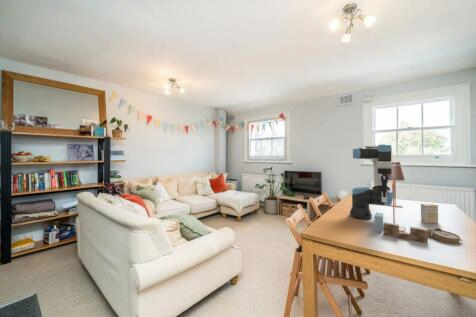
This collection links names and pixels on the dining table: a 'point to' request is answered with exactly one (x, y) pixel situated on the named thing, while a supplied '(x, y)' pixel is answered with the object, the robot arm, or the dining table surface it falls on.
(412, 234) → the walnut rail
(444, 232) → the alarm clock
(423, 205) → the supplement box
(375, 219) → the slotted blue block
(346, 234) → the dining table surface
